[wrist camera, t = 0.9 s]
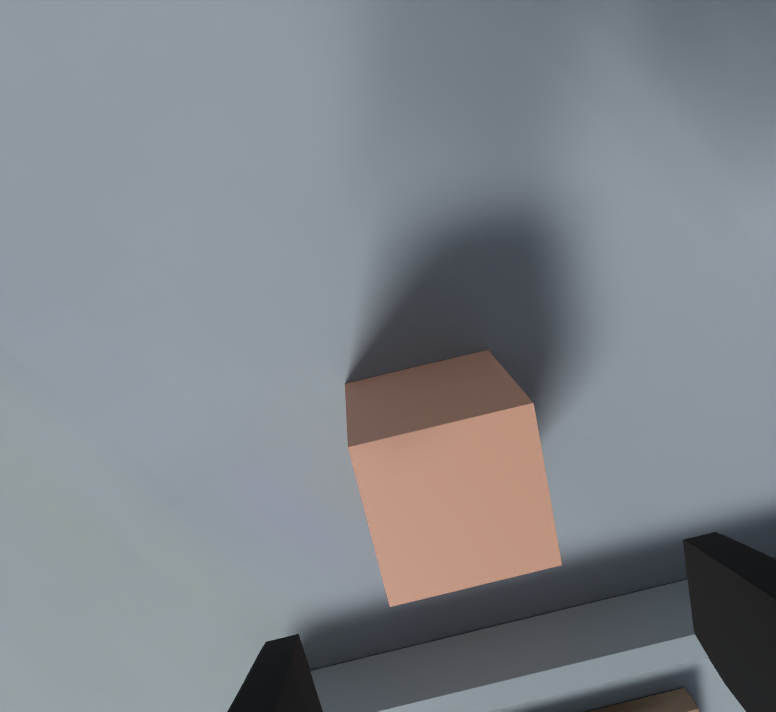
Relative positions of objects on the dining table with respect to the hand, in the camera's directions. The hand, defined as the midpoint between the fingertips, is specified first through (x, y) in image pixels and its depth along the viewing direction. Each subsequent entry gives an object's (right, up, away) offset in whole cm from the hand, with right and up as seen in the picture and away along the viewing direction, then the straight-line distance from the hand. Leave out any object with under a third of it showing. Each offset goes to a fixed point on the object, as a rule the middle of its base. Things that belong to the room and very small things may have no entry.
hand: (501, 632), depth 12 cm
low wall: (+4, -4, +11) cm, 13 cm away
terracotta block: (-1, +3, +9) cm, 10 cm away
